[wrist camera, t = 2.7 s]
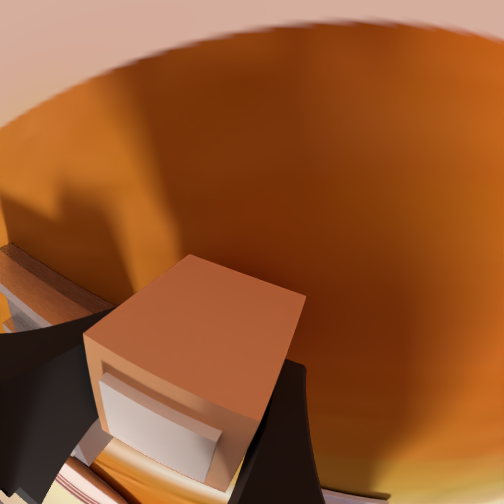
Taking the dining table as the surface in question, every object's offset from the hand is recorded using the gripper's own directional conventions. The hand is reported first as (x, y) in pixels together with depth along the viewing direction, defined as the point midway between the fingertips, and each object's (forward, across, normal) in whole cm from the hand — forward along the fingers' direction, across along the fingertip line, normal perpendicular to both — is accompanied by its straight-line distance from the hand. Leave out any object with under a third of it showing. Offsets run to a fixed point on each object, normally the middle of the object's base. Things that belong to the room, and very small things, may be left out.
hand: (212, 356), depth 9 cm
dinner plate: (+4, +18, +44) cm, 48 cm away
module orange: (+2, 0, 0) cm, 2 cm away
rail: (+3, +11, +6) cm, 13 cm away
